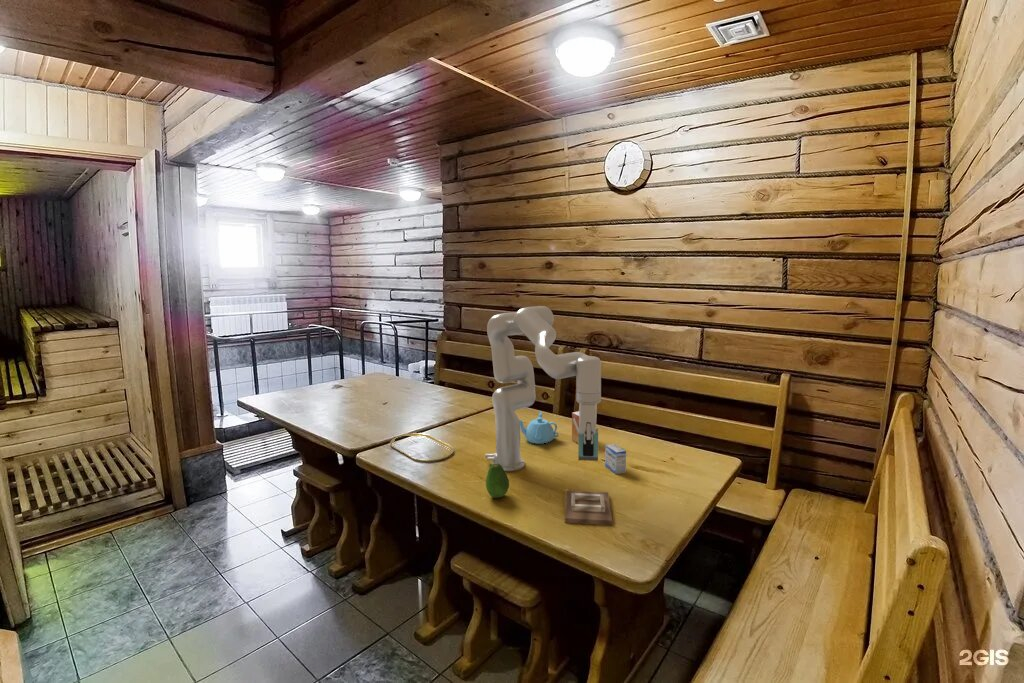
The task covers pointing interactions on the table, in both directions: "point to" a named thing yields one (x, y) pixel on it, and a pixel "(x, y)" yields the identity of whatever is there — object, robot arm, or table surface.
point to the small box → (575, 426)
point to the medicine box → (615, 459)
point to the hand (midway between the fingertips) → (588, 452)
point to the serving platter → (427, 437)
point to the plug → (580, 447)
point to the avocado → (497, 481)
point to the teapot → (539, 430)
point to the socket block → (588, 508)
